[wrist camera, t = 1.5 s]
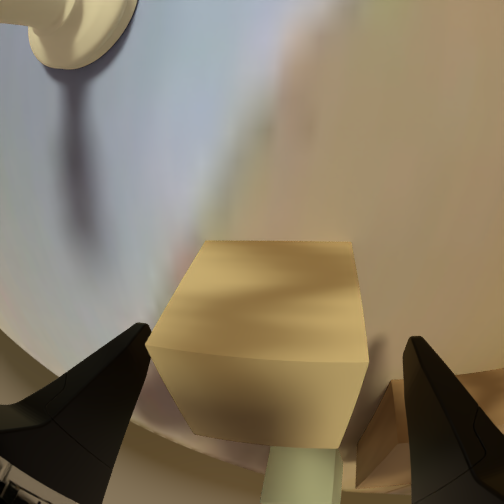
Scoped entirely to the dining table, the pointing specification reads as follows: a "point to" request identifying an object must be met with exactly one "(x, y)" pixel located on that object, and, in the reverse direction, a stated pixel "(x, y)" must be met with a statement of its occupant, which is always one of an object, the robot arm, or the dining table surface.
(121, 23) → the chess piece
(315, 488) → the sage block
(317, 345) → the oak cube
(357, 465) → the pedestal
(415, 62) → the dining table surface
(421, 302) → the dining table surface
